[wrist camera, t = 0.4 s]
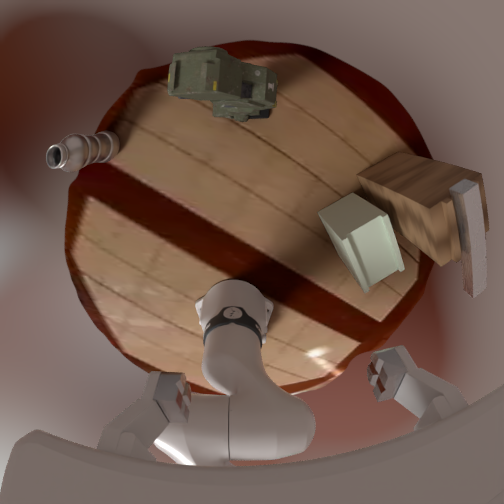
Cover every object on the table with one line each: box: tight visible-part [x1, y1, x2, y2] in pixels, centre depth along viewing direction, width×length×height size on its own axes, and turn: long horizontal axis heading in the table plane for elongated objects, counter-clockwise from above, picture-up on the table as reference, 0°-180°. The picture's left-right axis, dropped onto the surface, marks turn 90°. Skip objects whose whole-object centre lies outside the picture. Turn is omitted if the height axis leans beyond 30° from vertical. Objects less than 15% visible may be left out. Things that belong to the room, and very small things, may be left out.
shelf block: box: [317, 192, 405, 293], centre depth 50 cm, size 12×9×16 cm
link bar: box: [449, 179, 487, 298], centre depth 30 cm, size 19×4×3 cm, turn 31°
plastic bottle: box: [46, 131, 120, 172], centre depth 39 cm, size 6×7×20 cm
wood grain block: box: [357, 152, 489, 267], centre depth 41 cm, size 10×12×27 cm
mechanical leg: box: [167, 46, 278, 122], centre depth 34 cm, size 14×7×30 cm, turn 86°
